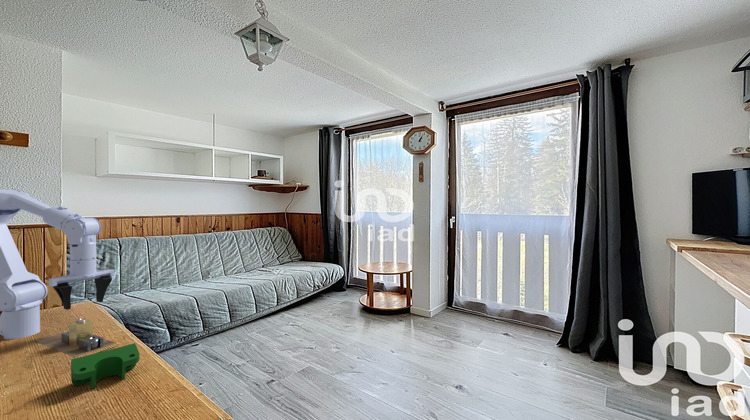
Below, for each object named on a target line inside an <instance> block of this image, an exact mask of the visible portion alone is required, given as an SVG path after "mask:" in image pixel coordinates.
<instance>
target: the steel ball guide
mask: <svg viewBox="0 0 750 420" xmlns="http://www.w3.org/2000/svg"><path fill="white" fill-rule="evenodd" d="M60 334H61V339H62V342H63V343H66V344H69V330H68V331H66V332H61V333H60ZM103 339H104V337H103V336H100V335H96V334H93V335H91V336H88V337H85V338H83V339H82V338H81V339H78V348H79V349H81V350H84V351H87V352H89V351H91V350H95V349H98V348H99V347H100V348H101V347H104V344H103ZM104 348H105V347H104ZM101 349H102V348H101ZM98 350H99V349H98ZM95 351H96V350H95ZM89 353H90V352H89Z"/></svg>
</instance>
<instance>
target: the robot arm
mask: <svg viewBox="0 0 750 420" xmlns="http://www.w3.org/2000/svg"><path fill="white" fill-rule="evenodd" d="M21 210H22V211H25V212H27V213H29V214H33V215H35V216H39V217H41V218H42V221H43V223H45V224H47V225H49V226H51V227H52V228H53V227H54V228H56V229H58V230H60V231H62V232H63V233H64V235H65V237H66V238H67V243H68V245H69V268H70V269H69V274H67V275H63V276H58V277H54V278H53V277H52V278H48V286H50V287H52V289H53V290H54V291H55V292H56V294H57V295H58V297H59V298H60V301H61V303H62V306H63V309H64V310H66V311H69V310H71V308H72V303H71V302H72V301H71V300H72V299H71V298H72V297H71V294H72V289H73V286H72V285H70V284H72V283H77V282H78V283H79V282H84V281H89V280H94V283H95V291H96V292H95V294H96V295H95V296H96V297H95V298H96V302H98V303H103V301H104V298H105V295H106V292H107V289H108V287H109V286H110V284H111V283H112V281H113V277H115V269H113V268H112V269H111V268H110V269H103V270H102V269H101V270H97V236H99V234H100V233H101V232H102V225H101V222H100V221H99V220H98V219H96V218H95V217H92V216H91V217H89V216H88V217H84V216H83V214H81V213H76V212H74V211H71V210H69V209H68V207H67V206H65V205H64V206H63V205H58V206H55V205H54V206H52V207H51V206H50V205H48V204H46V203H43V202H42V201H40V200H38V199H36V198H34V197H32V196H30V195H29V193H27V192H24V191H22V190H20V189H0V312H1V313H0V336H2V337H3V339H4V340H16V339H18V340H19V339H22V338H23V339H24V338H26V337H30V336H33V335H36V334H38V333H40V332H41V311H40V310H41V309H40V308H41V304H43V300H45V298H46V297H47V296H48V291H49V290H48V287H47V285H46V284H45V283H44V282H43V280H41V279H40V276H39V275H37V274H35V273H32V272H30V271H28V270H27V268H26V265H25V263H24V261H23V259H22V257H21V254H20V252H19V250H18V247H17V245H16V243H15V241H14V238H13V236H12V234H11V231H10V230H9V228H8V224H7V223H8V221H9V220H11V219H13V218H14V217H15V216H16V215H17V214H18V213H19V212H20V211H21Z"/></svg>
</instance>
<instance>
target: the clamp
mask: <svg viewBox="0 0 750 420" xmlns="http://www.w3.org/2000/svg"><path fill="white" fill-rule="evenodd" d="M101 351H102V352H100V351H98V352H99V353H97V352H95V353H92V354H88V355H82V356H78V357H74V358H71V359H70V362H71V363H70V379H71V380H70V381H71V384H72V386H74V387H78V386H82V385H85V384H86V385H87V384H88V383H89V384H90V387H91V390H95V389H96V382H97V381H99V380H102V379H105V378H109V377H112V376H119V377H120V378H121V381H124V380H125V379H126V372H128V371H132V370H133V369H134V368H136V366H137V363H139V361H140V358H141V357H140V351H139V349H138V346H137V344H136V343H135V342H134V343H130V344H127V345H122V346H119V347H118V346H117V347H114V348H111V349H108V350H106V349H105V351H103V350H101Z"/></svg>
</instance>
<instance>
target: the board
mask: <svg viewBox="0 0 750 420" xmlns="http://www.w3.org/2000/svg"><path fill="white" fill-rule="evenodd" d="M36 342H37V343H38V344H41V345H44V346H47V347H49V348H52V349H54V350H56V351H59V352H61V353H64V354H67V356H68V355H69V356H71V357H74V358H78V357H81V356H84V355H86V354H89V353H91V352H94V351H97V350H100V351H98V352H96V353H99V352H102V351H106V350H110V349H114V348H118V346H117V345H115V344H117V342H115V341H111V340H109V339H106V338H103V344H104V347H101V348H100V347H99V348H98V349H95V350H91V351H89V352H87V351H84V350H81V349H79V348H78V347H77V348H76V347H73V346H71V345H69V344H66V343H63V342H62V339H61V333H60V334H56V335H52V336H49V337H48V336H47V337H45V338H41V339H37V340H35V343H36ZM112 345H115V346H113V347H110V348H109V346H112ZM106 347H108V348H107V349H103V348H106ZM101 349H103V350H101Z"/></svg>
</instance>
